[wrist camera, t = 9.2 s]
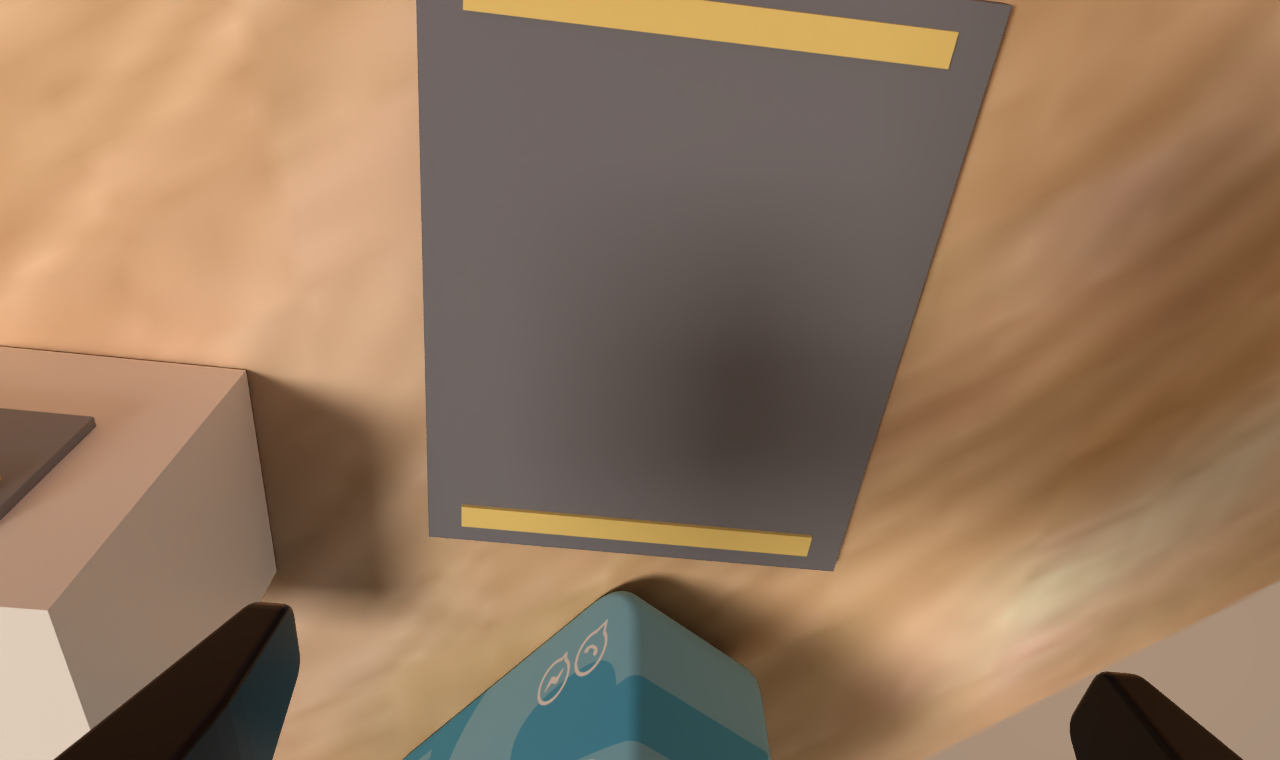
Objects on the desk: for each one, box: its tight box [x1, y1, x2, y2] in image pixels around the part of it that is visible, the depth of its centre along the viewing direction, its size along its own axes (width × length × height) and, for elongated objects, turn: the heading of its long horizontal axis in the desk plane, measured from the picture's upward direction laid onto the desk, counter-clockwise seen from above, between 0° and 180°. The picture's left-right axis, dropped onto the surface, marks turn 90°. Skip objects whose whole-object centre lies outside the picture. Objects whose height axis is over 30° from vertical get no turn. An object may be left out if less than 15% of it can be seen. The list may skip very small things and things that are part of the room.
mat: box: [416, 0, 1012, 571], centre depth 17 cm, size 13×10×1 cm
